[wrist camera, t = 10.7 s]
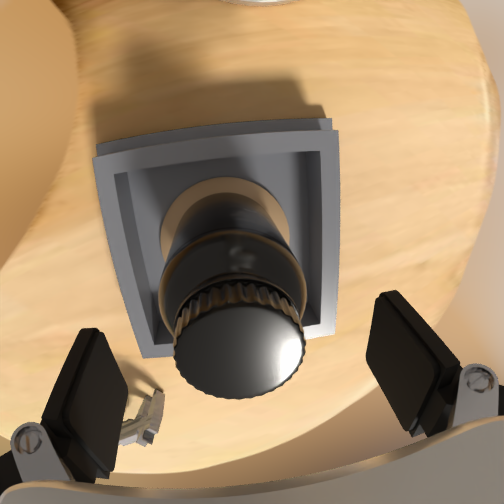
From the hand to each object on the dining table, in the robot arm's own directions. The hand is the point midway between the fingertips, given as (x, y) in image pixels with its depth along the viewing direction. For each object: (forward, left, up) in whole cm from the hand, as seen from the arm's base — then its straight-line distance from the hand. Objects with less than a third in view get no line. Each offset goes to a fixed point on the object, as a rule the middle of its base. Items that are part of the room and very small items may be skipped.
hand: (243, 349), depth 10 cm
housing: (+1, 0, -14) cm, 14 cm away
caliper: (+22, -16, -14) cm, 31 cm away
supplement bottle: (+1, 0, -13) cm, 13 cm away
